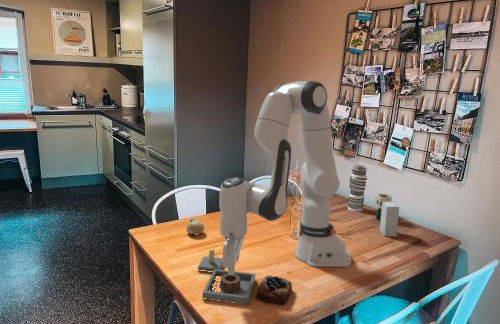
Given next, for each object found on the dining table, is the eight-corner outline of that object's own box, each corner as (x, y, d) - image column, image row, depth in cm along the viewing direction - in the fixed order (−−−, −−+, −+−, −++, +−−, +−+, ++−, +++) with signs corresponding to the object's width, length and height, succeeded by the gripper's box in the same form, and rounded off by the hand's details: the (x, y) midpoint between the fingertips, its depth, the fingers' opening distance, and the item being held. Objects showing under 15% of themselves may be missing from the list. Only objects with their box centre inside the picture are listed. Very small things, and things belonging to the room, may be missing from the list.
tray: (255, 280, 128) (255, 273, 128) (248, 305, 114) (248, 298, 113) (214, 275, 131) (214, 269, 130) (202, 299, 116) (202, 292, 115)
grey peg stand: (224, 263, 139) (224, 246, 138) (219, 273, 132) (219, 256, 130) (204, 260, 141) (204, 244, 139) (198, 271, 133) (198, 254, 131)
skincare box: (396, 237, 169) (400, 207, 165) (383, 236, 169) (387, 206, 166) (391, 230, 177) (394, 201, 174) (378, 229, 177) (382, 200, 174)
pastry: (252, 301, 117) (253, 285, 115) (263, 282, 128) (263, 267, 126) (286, 308, 113) (287, 292, 112) (293, 288, 124) (294, 273, 123)
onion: (202, 229, 170) (202, 215, 169) (205, 236, 163) (205, 221, 161) (185, 231, 168) (185, 216, 166) (187, 238, 160) (187, 223, 159)
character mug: (369, 216, 194) (371, 193, 191) (377, 214, 197) (380, 191, 195) (385, 223, 185) (388, 199, 182) (394, 221, 188) (397, 197, 186)
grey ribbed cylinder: (366, 208, 206) (371, 166, 200) (358, 212, 199) (363, 168, 194) (351, 204, 212) (356, 163, 206) (344, 208, 205) (348, 165, 200)
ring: (241, 283, 125) (241, 274, 124) (237, 294, 119) (238, 284, 118) (223, 281, 126) (223, 272, 125) (218, 291, 119) (219, 282, 119)
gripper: (238, 242, 106) (238, 284, 110) (247, 216, 126) (247, 252, 129) (217, 241, 107) (218, 282, 110) (229, 215, 127) (230, 251, 130)
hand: (234, 266), depth 120 cm, fingers open, 8 cm apart
